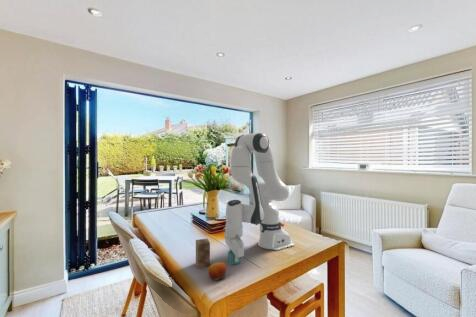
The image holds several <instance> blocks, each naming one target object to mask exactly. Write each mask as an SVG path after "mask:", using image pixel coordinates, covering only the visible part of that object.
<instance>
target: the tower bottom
mask: <svg viewBox="0 0 476 317" xmlns="http://www.w3.org/2000/svg"><path fill="white" fill-rule="evenodd" d="M195 265H196V267H197V270H199V269H205V268H209V267H210V266H211V254H210V255H205V256H197V253H196V252H195Z"/></svg>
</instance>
